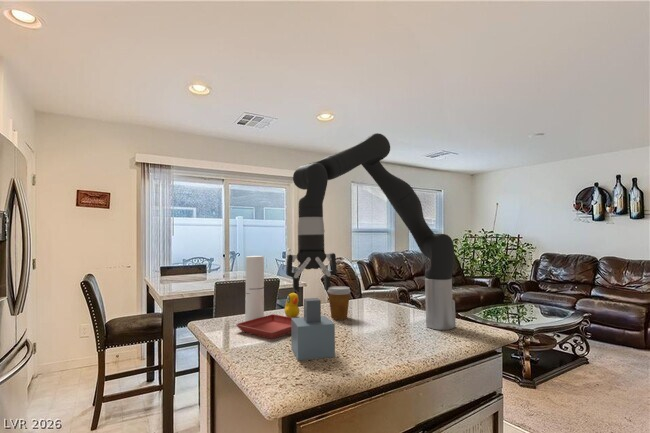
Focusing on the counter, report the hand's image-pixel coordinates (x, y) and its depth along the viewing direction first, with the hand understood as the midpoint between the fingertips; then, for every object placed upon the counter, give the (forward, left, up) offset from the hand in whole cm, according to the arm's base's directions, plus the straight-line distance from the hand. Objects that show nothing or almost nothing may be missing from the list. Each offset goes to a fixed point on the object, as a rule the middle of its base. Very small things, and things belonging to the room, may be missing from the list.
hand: (311, 290), depth 99 cm
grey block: (0, 0, -17) cm, 17 cm away
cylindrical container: (+13, -44, -18) cm, 49 cm away
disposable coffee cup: (-20, -38, -18) cm, 46 cm away
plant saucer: (+8, -27, -18) cm, 33 cm away
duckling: (-2, -44, -18) cm, 47 cm away
